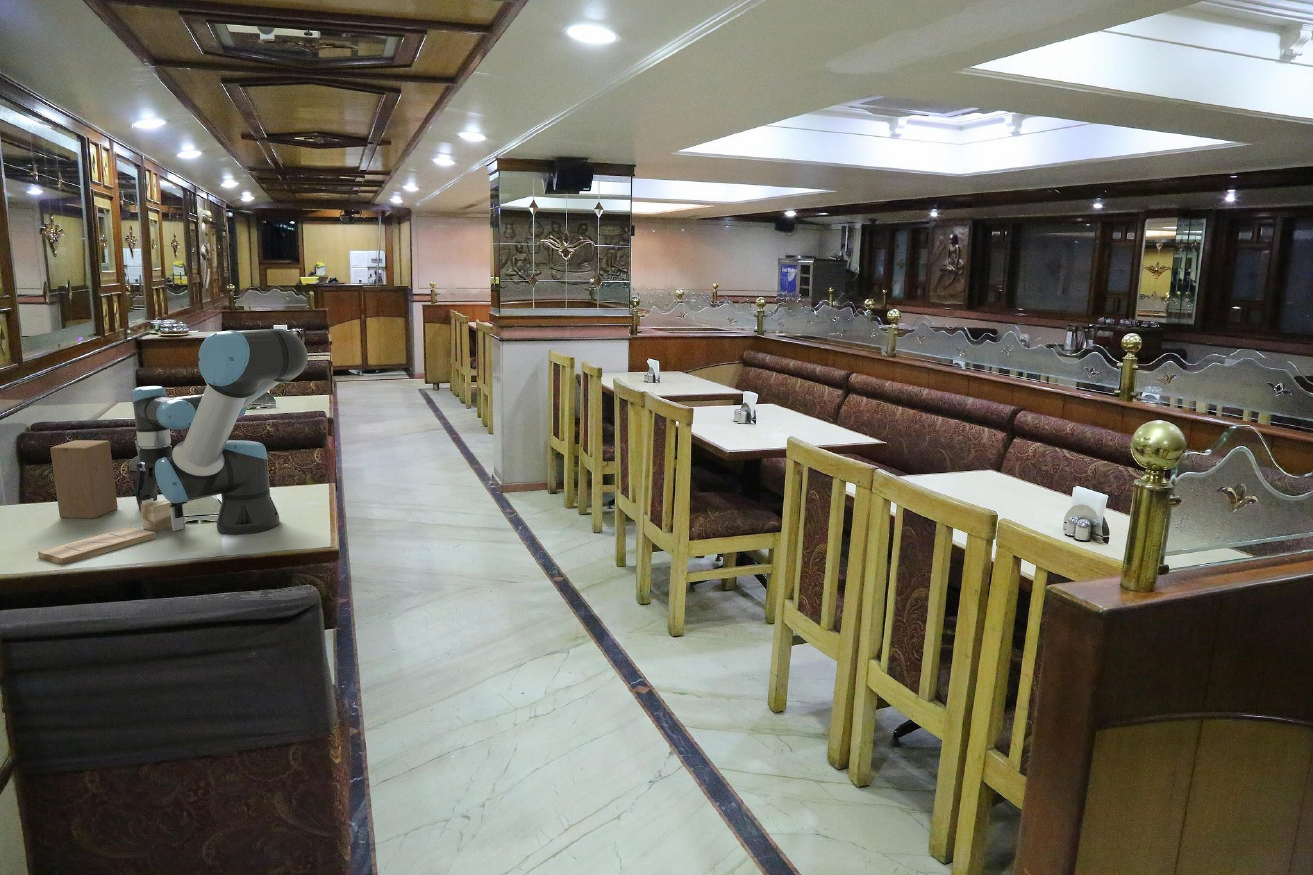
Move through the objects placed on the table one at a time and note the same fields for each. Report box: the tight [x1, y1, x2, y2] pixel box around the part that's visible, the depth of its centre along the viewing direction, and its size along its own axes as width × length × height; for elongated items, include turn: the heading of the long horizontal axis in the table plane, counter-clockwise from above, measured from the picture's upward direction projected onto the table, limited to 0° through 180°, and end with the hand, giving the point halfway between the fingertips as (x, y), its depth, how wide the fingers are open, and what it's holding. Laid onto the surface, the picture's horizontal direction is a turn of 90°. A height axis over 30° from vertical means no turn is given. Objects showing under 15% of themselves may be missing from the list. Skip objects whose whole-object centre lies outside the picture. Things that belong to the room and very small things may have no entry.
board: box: [37, 526, 156, 565], centre depth 206 cm, size 10×22×2 cm, turn 153°
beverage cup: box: [128, 439, 158, 511], centre depth 238 cm, size 7×7×20 cm
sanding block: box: [140, 497, 185, 533], centre depth 222 cm, size 5×8×7 cm, turn 153°
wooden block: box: [49, 439, 119, 519], centre depth 232 cm, size 10×10×20 cm
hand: (164, 526), depth 223 cm, fingers open, 11 cm apart
